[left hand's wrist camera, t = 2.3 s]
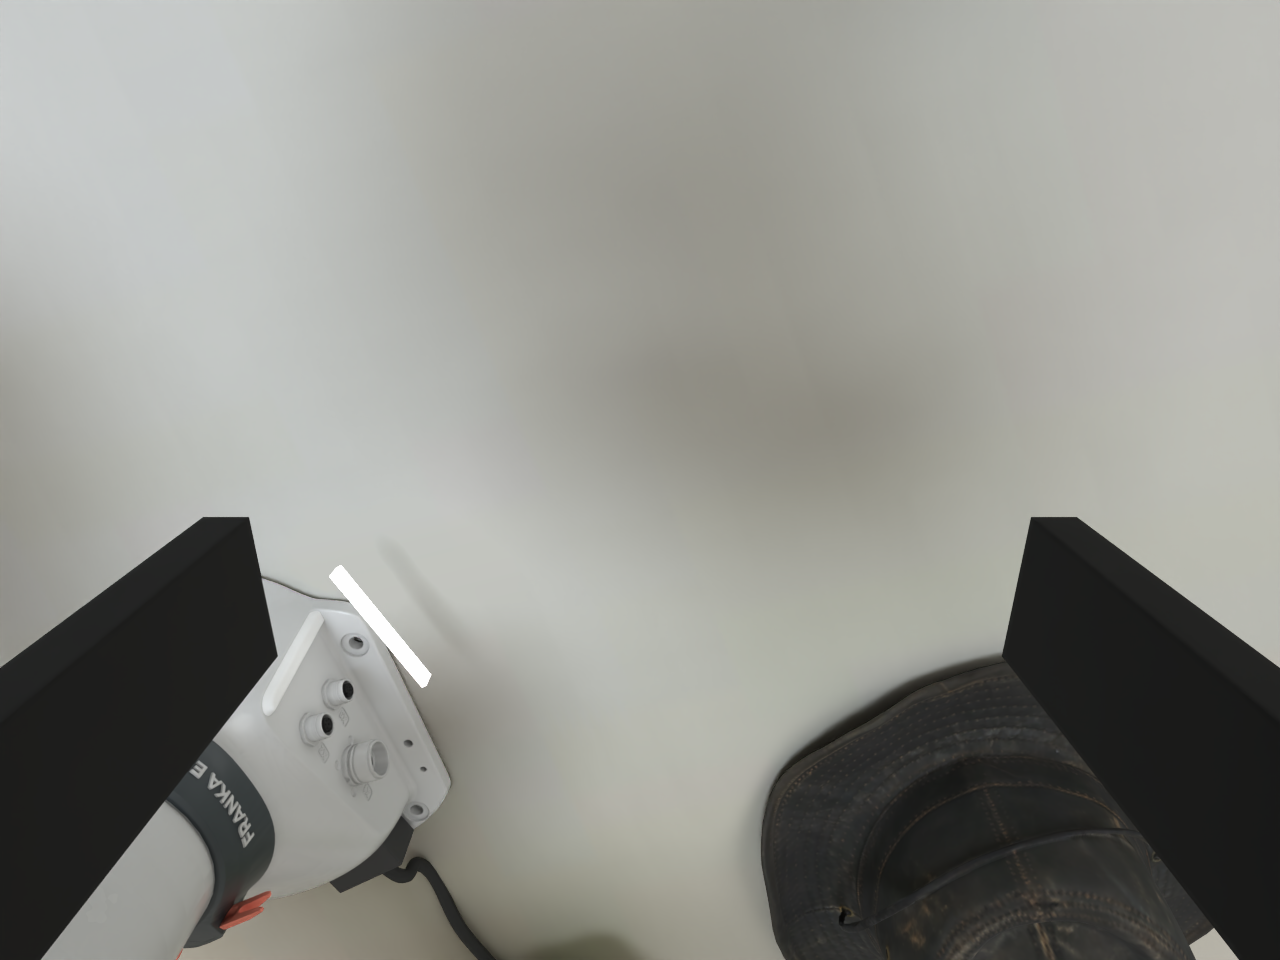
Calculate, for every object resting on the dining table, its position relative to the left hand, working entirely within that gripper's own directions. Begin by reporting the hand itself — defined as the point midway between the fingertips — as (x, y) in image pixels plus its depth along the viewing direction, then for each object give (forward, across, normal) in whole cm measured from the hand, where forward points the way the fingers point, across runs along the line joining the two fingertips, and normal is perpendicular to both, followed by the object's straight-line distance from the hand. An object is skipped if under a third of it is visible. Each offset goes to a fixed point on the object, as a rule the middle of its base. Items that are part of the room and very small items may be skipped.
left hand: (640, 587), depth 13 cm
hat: (+28, +25, -38) cm, 53 cm away
